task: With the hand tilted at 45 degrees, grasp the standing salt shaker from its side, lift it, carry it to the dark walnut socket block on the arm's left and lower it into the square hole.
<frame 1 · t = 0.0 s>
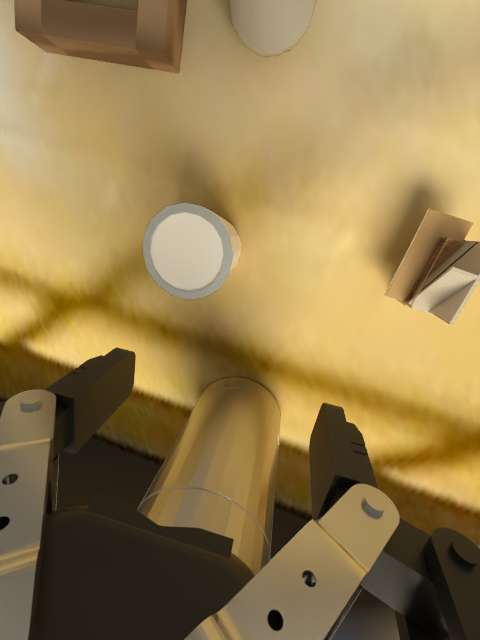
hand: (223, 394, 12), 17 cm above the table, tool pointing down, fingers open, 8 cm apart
architectural model: (414, 267, 26), on the table
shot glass: (212, 247, 28), on the table
salt shaker: (274, 25, 22), on the table
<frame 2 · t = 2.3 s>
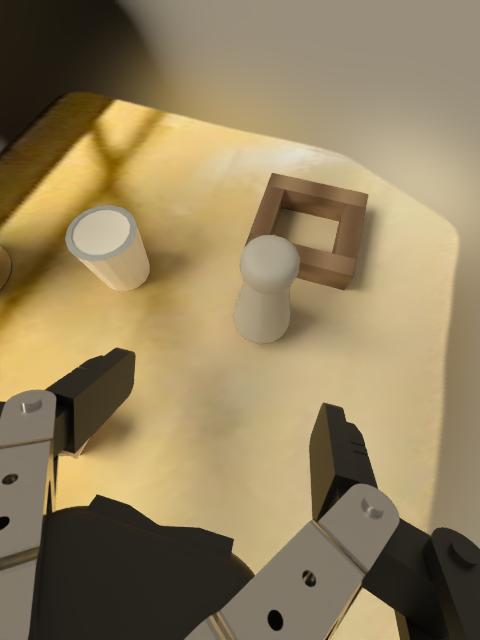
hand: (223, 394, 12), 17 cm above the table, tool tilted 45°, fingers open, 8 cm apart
socket: (303, 236, 37), on the table
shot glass: (126, 271, 35), on the table
salt shaker: (260, 325, 33), on the table
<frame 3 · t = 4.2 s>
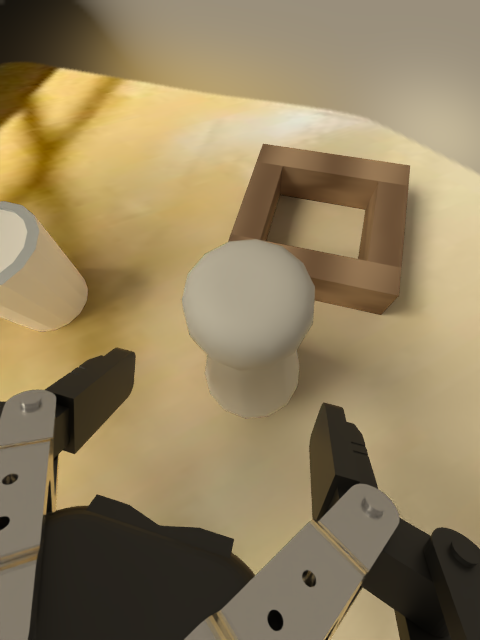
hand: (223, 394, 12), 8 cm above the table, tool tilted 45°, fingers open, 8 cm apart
socket: (314, 235, 25), on the table
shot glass: (54, 300, 24), on the table
salt shaker: (252, 378, 21), on the table
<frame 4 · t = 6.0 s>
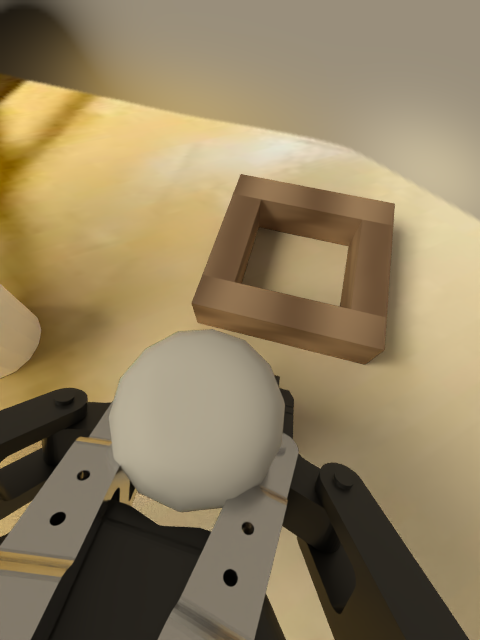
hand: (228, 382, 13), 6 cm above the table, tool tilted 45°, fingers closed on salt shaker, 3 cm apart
socket: (294, 273, 23), on the table
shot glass: (1, 342, 21), on the table
salt shaker: (223, 438, 19), on the table, touching gripper
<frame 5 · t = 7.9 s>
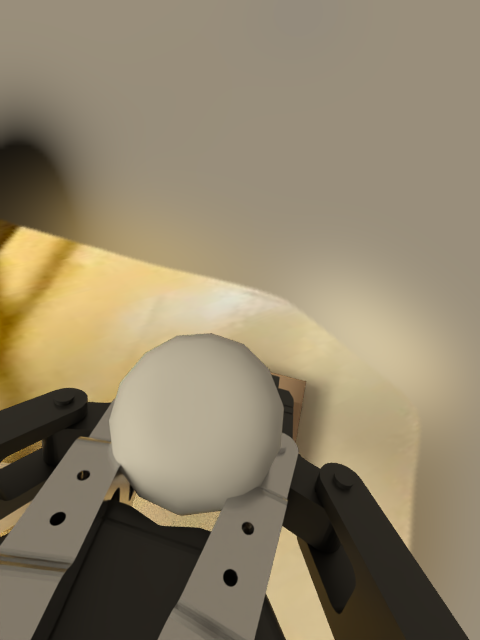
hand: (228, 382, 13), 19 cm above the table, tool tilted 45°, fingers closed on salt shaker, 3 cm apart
socket: (231, 430, 30), on the table
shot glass: (5, 496, 28), on the table
salt shaker: (222, 440, 19), point 12 cm above the table, touching gripper
when the fingers open (8 cm above the table, at t = 10.3 s): salt shaker drops 1 cm, resting in socket.
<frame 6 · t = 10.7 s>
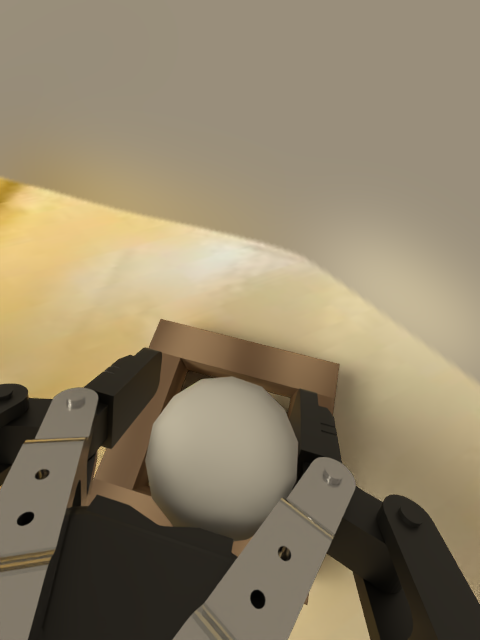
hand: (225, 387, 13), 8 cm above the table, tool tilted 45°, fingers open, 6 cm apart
socket: (223, 439, 20), on the table
salt shaker: (232, 455, 19), resting in socket
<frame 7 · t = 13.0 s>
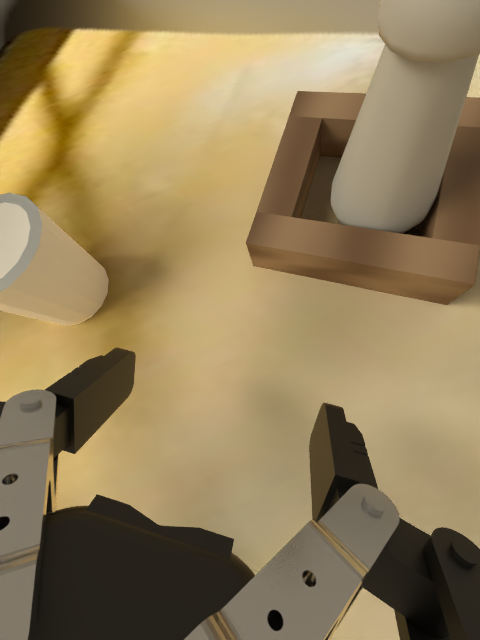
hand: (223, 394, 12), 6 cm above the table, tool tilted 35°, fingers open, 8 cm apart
socket: (361, 204, 20), on the table
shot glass: (77, 292, 23), on the table
salt shaker: (371, 218, 20), resting in socket
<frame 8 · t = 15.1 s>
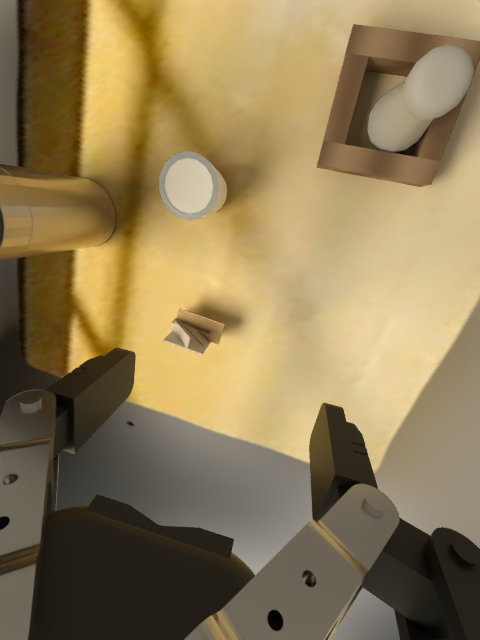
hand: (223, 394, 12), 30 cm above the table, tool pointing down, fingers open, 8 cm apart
architectural model: (200, 321, 46), on the table
socket: (386, 117, 33), on the table
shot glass: (206, 191, 39), on the table
salt shaker: (390, 127, 33), resting in socket
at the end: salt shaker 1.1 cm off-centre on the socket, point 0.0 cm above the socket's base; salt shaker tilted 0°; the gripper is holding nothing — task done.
